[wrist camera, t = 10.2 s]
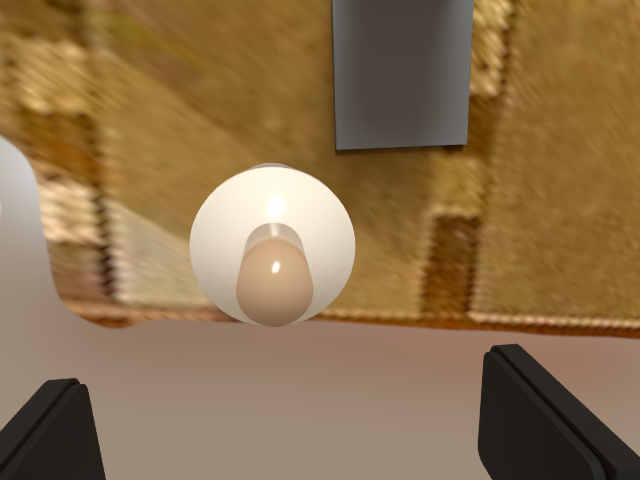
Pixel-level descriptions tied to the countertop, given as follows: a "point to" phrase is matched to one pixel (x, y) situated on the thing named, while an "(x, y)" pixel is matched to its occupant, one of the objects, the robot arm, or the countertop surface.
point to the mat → (401, 72)
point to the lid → (272, 246)
